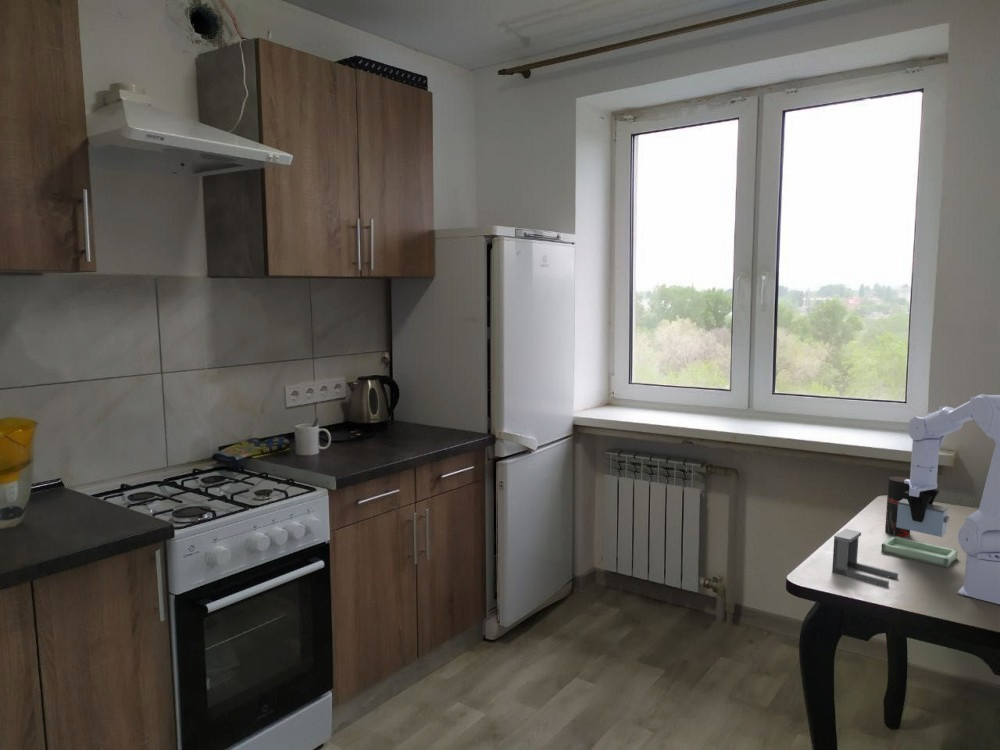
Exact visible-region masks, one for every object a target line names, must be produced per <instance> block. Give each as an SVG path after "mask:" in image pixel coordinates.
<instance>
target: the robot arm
mask: <svg viewBox="0 0 1000 750" xmlns="http://www.w3.org/2000/svg"><path fill="white" fill-rule="evenodd" d="M972 420H974V422H975V423H976V424H977V425H978V426H979V428H980V429H981V430H982V431H983V432H984V434H985V436H986V437H988V438H990V439H992V440H994V443H995V446H994V450H993V454H992V456H991V460H990V463H989V464H990V465H989V468H988V473H987V476H986V481H985V484H984V488H983V492H982V495H981V499H980V503H979V506H978V509H977V510H975V511H974V512H972V513H971V514H969V515H967V516H966V517H965V520H964V523H963V525H962V526H961V527H960V528H959V531H958V533H957V540H958V544H959V546H960V547H961V549H962V551H963V552H964V553H965V554H966V555H965V556H966V557H965V569H964V581H963V585H962V586H961V588H959V589H958V590H957V594H959V595H961V596H966V597H969V598H973V599H977V600H981V601H985V602H989V603H992V604H995V605H996V604H997V605H1000V394H985V393H983V394H978V395H976V396H971V397H970V399H969V401H967V402H965V403H963V404H961V405H959V406H957V407H955V408H954V407H952V406H948V405H947V406H946V405H945V406H944V405H943V406H939V408H938V410H937V411H934V412H928V413H927V415H926V416H923V417H922V416H921V417H920V416H913V417H912V418H911V419H910V420H909V422H908V424H907V426H908V427H907V432H908V435H909V437H910V438H911V440H912V443H911V444H912V445H911V446H912V447H911V460H910V470H909V471H910V473H909V479H910V480H909V479H906V480H904V483H906V484H909V486H910V489H909V491H906V492H905V496H906V498H907V500H908V502H909V505H910V510H911V516H912V520H913V521H917V522H922V521H923V519H924V516H925V512H926V508H927V505H928V504H933V505H934V502H935V499H936V497H937V496H938V495H939V494H940V489H938V471H939V469H938V468H939V457H940V448H942V447H943V442H944V440H945V438H946V436H947V435H950V434H951V433H954V432H957V431H959V430H961V428H962V427H963V426H964V423H966V422H969V421H972Z"/></svg>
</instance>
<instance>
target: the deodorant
mask: <svg viewBox="0 0 1000 750" xmlns="http://www.w3.org/2000/svg"><path fill="white" fill-rule="evenodd" d="M906 479H909V480H910V477H904V476H889V477H888V484H887V497H886V498H887V499H886V511H885V528H884V532H885V534H887V533H888V534H887V535H889V534H890V536H893V535H894V536H895V537H898V536H900V537H899V538H906V537H907V538H908V537H910V536H911V530H907V529H903V528H898V527H896V524H897V511H898V502H899V501H900V500H902V499H907V498H906V496H905V492H906V491H909V489H910V486H909V484H906V483H904V480H906Z"/></svg>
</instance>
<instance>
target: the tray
mask: <svg viewBox="0 0 1000 750" xmlns="http://www.w3.org/2000/svg"><path fill="white" fill-rule="evenodd" d="M880 551H881V553H884V554H889V555H894V556H897V557H901V558H905V559H909V560H914V561H917V562H921V563H926V564H930V565H935V566H938V567H943V568H946V569H947V568H949V567H950V566H951V565H952V564H953V563H954V561H956V560H957V559H958V557H957V556H958V550H957V549H952V548H948V547H943V546H939V545H935V544H930V543H926V542H922V541H916V540H912V539H907V538H905V537H898V536H893V535H891V537H890V538H888V539H887V540H886V541H884V542H883V543H882V544H881V549H880Z"/></svg>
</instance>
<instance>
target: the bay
mask: <svg viewBox="0 0 1000 750" xmlns="http://www.w3.org/2000/svg"><path fill="white" fill-rule="evenodd" d="M861 536H862V531H857V530H853V529H848V528H845V529H843V530H841V531H840V532H838V533H836V534H835V535H834V537H833V551H832V552H833V553H832V554H833V555H832V571H831V572H832V573H834V574H838V575H843V576H846V577H849V578H853V579H856V580H860V581H864V582H867V581H868V582H869V583H871V584H875V583H876V584H875V585H878V584H880V585H879V586H882V585H883V587H886V586H887V587H886V588H888V587H889V585H890V580H887V579H883V578H880V577H876V576H872V575H869V574H865V573H860V572H858V571H857V572H856V571H853V570H849V569H848V567H849V568H853V569H857V570H860V571H861V570H862V571H864V570H865V572H869V573H872V574H876V573H877V575H879V574H880V575H879V576H883V575H884V577H887V576H889V577H888V578H891V577H893V578H892V579H895V578H896V579H895V580H897V579H898V578H899V572H896V571H893V570H888V569H884V568H880V567H877V566H872V565H868V564H864V563H860V562H858V552H859V538H860V537H861Z"/></svg>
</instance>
